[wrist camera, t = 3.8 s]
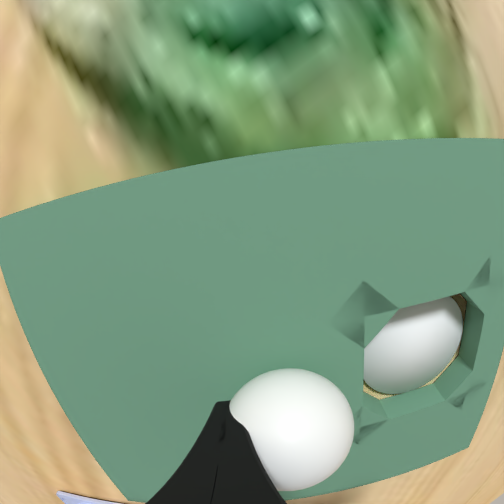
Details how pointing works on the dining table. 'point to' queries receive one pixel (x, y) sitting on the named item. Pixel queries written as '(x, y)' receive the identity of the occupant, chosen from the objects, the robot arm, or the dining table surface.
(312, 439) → the ball
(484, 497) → the dining table surface
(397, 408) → the green
